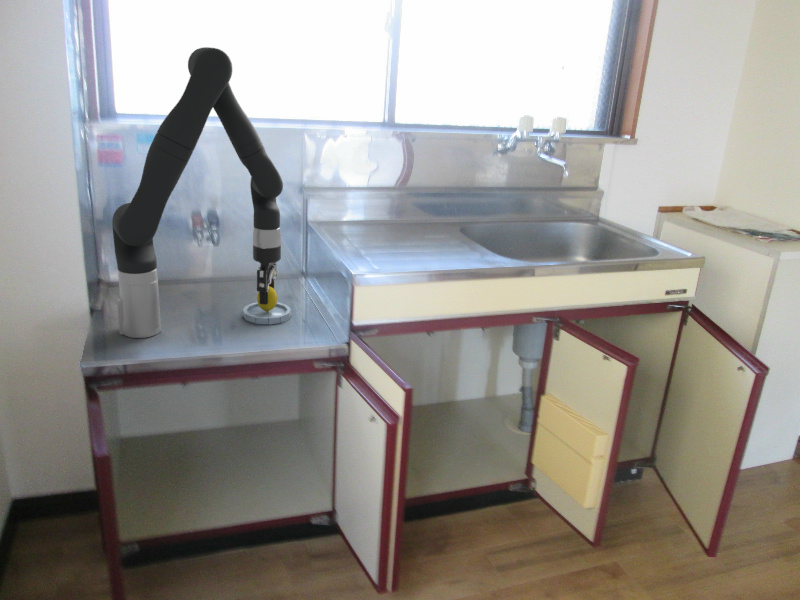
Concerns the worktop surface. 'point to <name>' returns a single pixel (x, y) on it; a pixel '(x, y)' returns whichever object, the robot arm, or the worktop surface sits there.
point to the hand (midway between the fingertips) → (267, 298)
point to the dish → (266, 314)
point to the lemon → (269, 300)
